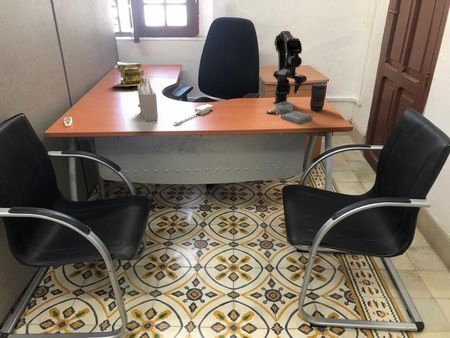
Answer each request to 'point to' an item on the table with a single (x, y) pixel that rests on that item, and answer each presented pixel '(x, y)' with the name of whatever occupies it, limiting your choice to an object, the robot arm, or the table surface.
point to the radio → (147, 101)
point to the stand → (296, 117)
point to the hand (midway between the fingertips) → (288, 91)
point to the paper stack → (129, 74)
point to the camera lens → (317, 96)
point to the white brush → (197, 112)
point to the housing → (284, 107)
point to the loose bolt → (272, 112)
